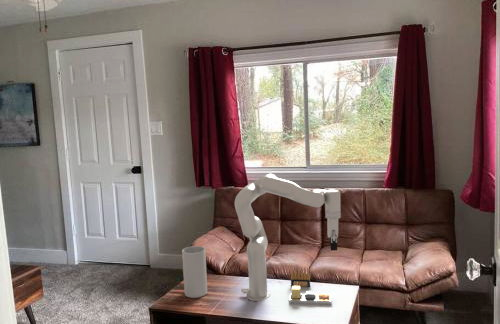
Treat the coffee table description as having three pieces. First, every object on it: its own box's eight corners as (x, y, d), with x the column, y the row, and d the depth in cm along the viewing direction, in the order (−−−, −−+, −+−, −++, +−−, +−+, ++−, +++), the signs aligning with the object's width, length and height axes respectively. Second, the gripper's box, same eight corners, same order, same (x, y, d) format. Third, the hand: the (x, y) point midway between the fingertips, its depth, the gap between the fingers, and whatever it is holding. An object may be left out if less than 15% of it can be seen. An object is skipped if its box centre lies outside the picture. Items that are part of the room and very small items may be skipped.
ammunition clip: (310, 287, 238) (309, 266, 237) (310, 288, 237) (309, 267, 235) (291, 286, 240) (290, 266, 239) (290, 288, 238) (290, 267, 237)
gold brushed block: (292, 302, 218) (291, 289, 217) (292, 298, 222) (292, 285, 221) (300, 302, 217) (300, 289, 217) (300, 299, 222) (300, 286, 221)
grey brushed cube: (306, 302, 217) (305, 294, 217) (306, 299, 221) (305, 290, 221) (314, 302, 216) (314, 294, 216) (314, 299, 221) (314, 290, 220)
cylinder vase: (180, 293, 237) (177, 249, 235) (200, 287, 245) (197, 244, 242) (191, 300, 227) (189, 255, 225) (211, 293, 235) (209, 249, 232)
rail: (289, 305, 217) (289, 299, 216) (290, 299, 224) (289, 293, 224) (331, 306, 213) (331, 301, 213) (330, 300, 221) (330, 294, 221)
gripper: (324, 210, 226) (325, 242, 228) (326, 218, 209) (326, 252, 211) (339, 210, 225) (339, 242, 227) (341, 218, 208) (342, 252, 210)
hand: (333, 247), depth 219 cm, fingers open, 9 cm apart
